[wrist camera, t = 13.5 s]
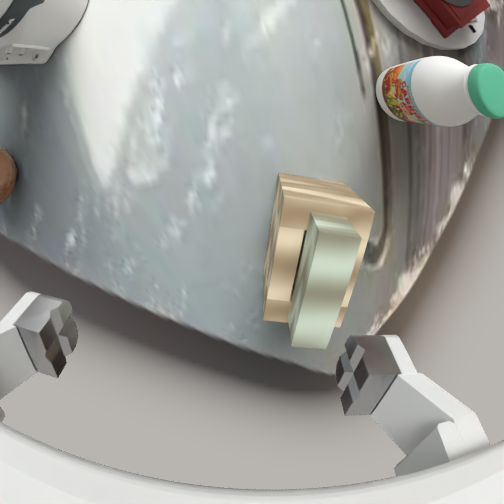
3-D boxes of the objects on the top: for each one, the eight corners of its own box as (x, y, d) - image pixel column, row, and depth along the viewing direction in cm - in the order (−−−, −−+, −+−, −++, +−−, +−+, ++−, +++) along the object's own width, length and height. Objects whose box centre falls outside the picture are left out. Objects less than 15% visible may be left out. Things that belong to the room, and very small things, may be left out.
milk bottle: (392, 55, 30) (484, 26, 12) (432, 93, 32) (535, 96, 14) (363, 96, 33) (447, 87, 15) (406, 132, 35) (503, 158, 17)
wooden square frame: (323, 276, 44) (340, 327, 34) (263, 268, 44) (263, 320, 33) (345, 183, 38) (375, 212, 28) (278, 172, 38) (284, 197, 27)
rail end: (314, 299, 37) (326, 349, 29) (286, 295, 37) (290, 346, 29) (337, 205, 32) (361, 238, 23) (305, 200, 31) (319, 231, 23)
